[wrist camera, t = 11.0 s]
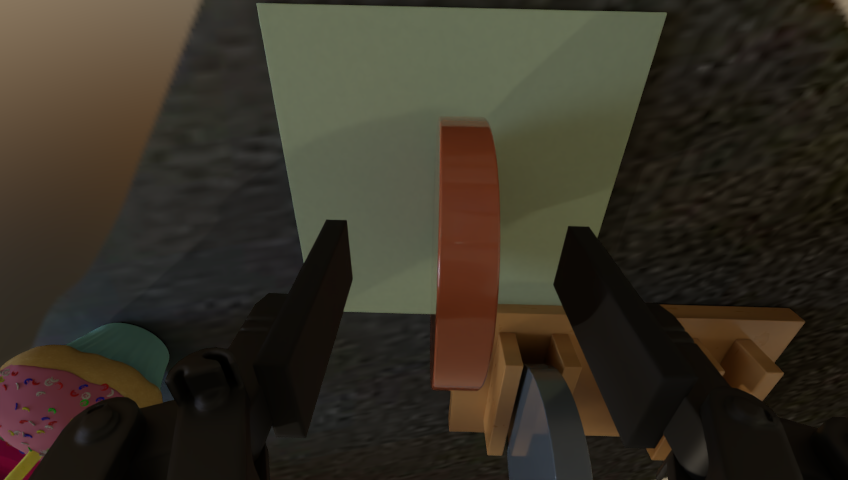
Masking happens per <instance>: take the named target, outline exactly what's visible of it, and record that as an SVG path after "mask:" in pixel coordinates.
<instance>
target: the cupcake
mask: <svg viewBox="0 0 848 480" xmlns="http://www.w3.org/2000/svg"><path fill="white" fill-rule="evenodd" d="M168 362H169V352H168V350H167V348H166V346H165V344H164V343H163V342H162V341H161V340H160V339H159V338H158V337H157V336H155V335H154V334H152V333H151V332H149V331H147V330H145V329H143V328H141V327H138V326H135V325H131V324H126V323H110V324H106V325H103V326H101V327H99V328H98V329H96V330H94V331H92V332H90V333H88V334H87V335H85V336H83V337H81V338H79V339H77V340H75V341H73V342H71V343H69V344H66V345H46V346H40V347H36V348H33V349H30V350H28V351H26V352H23V353H21V354H19V355H17V356H15V357H14V358H12V359H10V360H9V361H7V362H6V363H5V364H4V365H3V366H2V367H1V368H0V439H1V440H3V441H5V442H6V445H7V446H13V447H15V448H17V449H18V450H19V452H20V453H21V454H26V456H25V457H24V458H23V459H22V460H21V461H20V462H19V464H18V465H17V466H16V467H15V468H14V469H13V470H12V471H11V472H10V474H9V475H8V476H7V477H6V478H5V479H4V480H22V479H23V478H24V477H25V476H26V475H27V474H28V472H29V471H30V470H31V469H32V468H33V467H34V466H35V464H36V463H37V462H38V461H41V460H42V459H43V457H44V456H45V454H46V453H47V452H48V450H49V449H50V447H51V446H52V444H53V443H54V441H55V440H56V439H57V437H58V436H59V434H60V433H61V431H62V430H63V429H64V428H65V427H66V425H67V424H68V423H69V422H70V421H71V420H72V419H73V418H74V417H75V416H76V415H78V414H79V413H81V412H82V411H83V410H85V409H86V408H87V407H89V406H91V405H94V404H96V403H98V402H100V401H102V400H105V399H109V398H113V397H128V398H130V399H132V400H133V401H135V402H136V403H137V405H138V407H139V408H143V407H148V406H152V405H156V404H160V403H163V401H162V394H161V384H162V380H163V376H164V373H165V370H166V367H167V365H168ZM21 451H22V452H21Z"/></svg>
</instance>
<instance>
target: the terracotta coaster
mask: <svg viewBox="0 0 848 480" xmlns="http://www.w3.org/2000/svg"><path fill="white" fill-rule="evenodd" d="M500 244H501V225H500V190H499V175H498V165H497V155H496V149H495V143H494V138H493V134H492V130H491V127H490V124H489V122H488V120H487V119H486V118H485V117H481V116H442V115H441V116H439V118H438V122H437V134H436V150H435V171H434V196H433V226H432V261H431V309H430V383H431V388H432V390H438V391H471V392H476V391H478V390H480V389H481V388H482V386H483V385H484V382H485V379H486V377H487V373H488V369H489V366H490V361H491V356H492V350H493V344H494V337H495V329H496V319H497V309H498V295H499V277H500Z"/></svg>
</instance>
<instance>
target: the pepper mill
mask: <svg viewBox="0 0 848 480" xmlns="http://www.w3.org/2000/svg"><path fill="white" fill-rule="evenodd" d="M21 452H22V451H21ZM25 456H26V454H21V453H20V452H19V450H18V449H17V448H15V447H13V446H7V445H6V442H5V441H3V440H1V439H0V480H4V479H5V478H6V477H7V476H8V475H9V474H10V472H11V471H12V470H13V469H14V468H15V467H16V466H17V465H18V464H19V462H20V461H21V460H22V459H23V458H24V457H25ZM40 462H41V461H38V462H37V463H36V464H35V466H34V467H33V468H32V469H31V470H30V471H29V472H28V474H27V475H26V476H25V477H24V478H23V479H22V480H28V479H29V477H30V476H31V475H32V473H33V472H34V470H35V469H36V467H37V466H38V464H39V463H40Z"/></svg>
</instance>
